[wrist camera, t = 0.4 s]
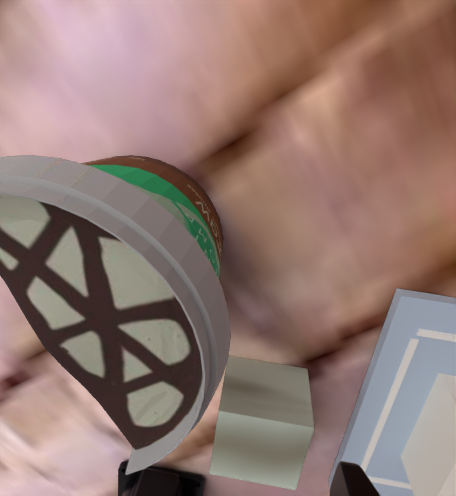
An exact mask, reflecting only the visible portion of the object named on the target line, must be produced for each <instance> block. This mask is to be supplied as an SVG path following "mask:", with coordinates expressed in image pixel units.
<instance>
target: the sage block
mask: <svg viewBox="0 0 456 496" xmlns="http://www.w3.org/2000/svg"><path fill="white" fill-rule="evenodd" d="M313 431H314V419H313V411H312V403H311V394H310V386H309V377H308V369H305V368H299V367H293V366H287V365H282V364H276V363H270V362H264V361H258V360H252V359H247V358H241V357H235V356H229V357H228V360H227V364H226V370H225V376H224V382H223V388H222V394H221V400H220V406H219V412H218V419H217V425H216V432H215V438H214V445H213V451H212V457H211V464H210V470H209V474H212V475H217V476H222V477H228V478H233V479H238V480H244V481H249V482H254V483H259V484H265V485H270V486H275V487H281V488H286V489H291V490H296V487H297V484H298V480H299V477H300V474H301V471H302V467H303V464H304V461H305V458H306V454H307V451H308V448H309V444H310V441H311V438H312V435H313Z"/></svg>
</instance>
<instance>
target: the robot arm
mask: <svg viewBox="0 0 456 496" xmlns="http://www.w3.org/2000/svg"><path fill="white" fill-rule="evenodd" d="M127 466H128V462H126V461H124V462H122V463H121V464H120V467H119V469H118V496H203V490H204V484H205V479H204V477H202V476H200V475H196V474H190V473H185V472H180V471H175V470H169V469H164V468H159V467H153V466H149V467H147V468H145V469H142V470H140V471H137V472H134V473H131V474H128V475H126V474H125V472H126V469H127ZM330 496H381V495H380V494H379V493H378V491H377V490H376V488H375V487H374V485H373V484H372V482H371V481H370V479H369V478H368V476H367V475H366V473H365V472H364V471H363V469H362V468H361V467H360V466H359V465H358V464H356V463H350V462H345V461H340V462H339V463H338V465H337V468H336V471H335V474H334V477H333V480H332V483H331V487H330Z"/></svg>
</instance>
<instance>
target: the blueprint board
mask: <svg viewBox="0 0 456 496" xmlns="http://www.w3.org/2000/svg"><path fill="white" fill-rule="evenodd" d="M340 461H345V462H350V463H356V464H358V465H359V466H360V467H361V468H362V469H363V471H364V472H365V473H366V475H367V476H368V478H369V479H370V481H371V482H372V484H373V485H374V487H375V488H376V490H377V491H378V493H379V494H380V495H381V496H456V298H454V297H448V296H442V295H436V294H429V293H423V292H417V291H411V290H404V289H398V288H397V289H396V292H395V294H394V297H393V300H392V303H391V306H390V308H389V311H388V314H387V317H386V320H385V323H384V325H383V328H382V331H381V334H380V337H379V339H378V342H377V345H376V348H375V351H374V354H373V356H372V359H371V362H370V365H369V368H368V370H367V373H366V376H365V379H364V382H363V385H362V387H361V390H360V393H359V396H358V399H357V401H356V404H355V407H354V410H353V413H352V416H351V418H350V421H349V424H348V427H347V430H346V432H345V435H344V438H343V441H342V444H341V447H340V449H339V452H338V455H337V458H336V461H335V463H334V466H333V469H332V472H331V475H330V478H329V487H331V483H332V480H333V477H334V474H335V471H336V468H337V465H338V463H339V462H340Z"/></svg>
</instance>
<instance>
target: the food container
mask: <svg viewBox="0 0 456 496" xmlns="http://www.w3.org/2000/svg"><path fill="white" fill-rule="evenodd" d="M222 246H223V235H222V230H221V224H220V219H219V217H218V214H217V212H216V209H215V207H214V205H213V203H212V202H211V200H210V199H209V197H208V195H207V194H206V193H205V192H204V191H203V189H202V188H201V187H200V186H199V185H198V184H197V183H196V182H195V181H194V180H193V179H192V178H190V177H189V176H188V175H187V174H185V173H184V172H182V171H181V170H179V169H177V168H176V167H174V166H172V165H170V164H167V163H165V162H162V161H160V160H156V159H152V158H148V157H143V156H132V155H130V156H116V157H111V158H106V159H101V160H96V161H91V162H86V163H77V162H73V161H70V160H66V159H62V158H54V157H44V156H35V155H23V156H6V157H0V276H1V277H2V278H3V280H4V281H5V283H6V284H7V286H8V288H9V289H10V291H11V293H12V295H13V296H14V298H15V300H16V301H17V303H18V305H19V307H20V308H21V310H22V312H23V313H24V315H25V317H26V319H27V320H28V322H29V324H30V325H31V327H32V328H33V330H34V331H35V333H36V335H37V336H38V338H39V339H40V341H41V342H42V344H43V345H44V347H45V348H46V349H47V351H48V352H49V353H50V354H51V355H52V356H53V357H54V358H55V359H56V360H57V361H58V362H59V363H60V364H61V365H62V366H63V367H64V368H65V369H66V370H67V371H68V372H69V373H70V374H71V375H72V376H73V377H74V378H75V379H76V380H77V381H79V382H80V383H81V384H82V385H83V386H84V387H85V388H86V389H87V390H88V391H89V393H90V394H91V395H92V396H93V397H94V398H95V399H96V400H97V401H98V402H99V403H100V405H101V406H102V407H103V408H104V410H105V411H106V412H107V414H108V415H109V416H110V417H111V419H112V420H113V421H114V423H115V424H116V425H117V426H118V428H119V429H120V430H121V432H122V433H123V435H124V436H125V437H126V439H127V440H128V441H129V443H130V444H131V445H132V447H133V448H132V452H131V455H130V459H129V462H128V466H127V469H126V472H125V474H126V475H128V474H131V473H134V472H137V471H140V470H142V469H145V468H147V467H149V466H151V465H152V464H154V463H156V462H158V461H160V460H162V459H163V458H164V457H165V456H167V455H168V454H169V453H171V452H172V451H173V450H174V449H176V448H177V447H178V445H179V444H180V443H181V442H182V441H183V440H184V438H185V437H186V436H187V435H188V434H189V433H190V431H191V430H192V429H193V428H194V427H195V426H196V425H197V423H198V422H199V421H200V419H201V417H202V416H203V414H204V412H205V410H206V409H207V407H208V405H209V403H210V401H211V399H212V397H213V395H214V393H215V391H216V389H217V387H218V385H219V383H220V381H221V379H222V376H223V373H224V370H225V367H226V364H227V360H228V357H229V348H230V339H231V331H230V319H229V311H228V307H227V303H226V299H225V296H224V292H223V288H222V286H221V284H220V282H219V274H220V265H221V255H222Z"/></svg>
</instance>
